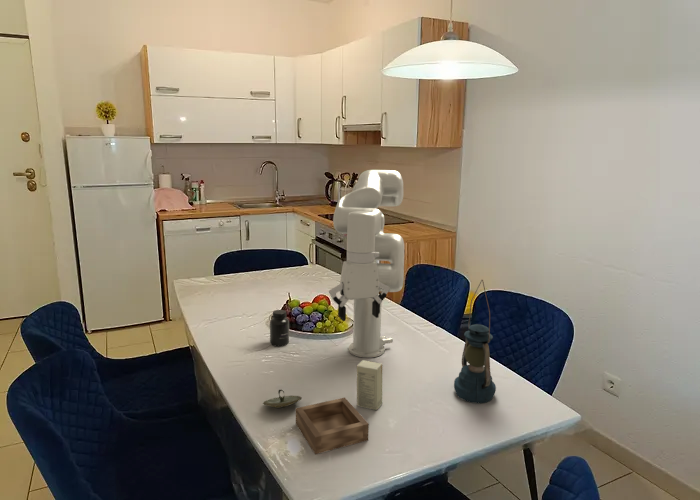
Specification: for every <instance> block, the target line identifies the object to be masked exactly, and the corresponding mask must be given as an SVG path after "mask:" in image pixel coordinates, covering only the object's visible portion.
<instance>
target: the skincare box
mask: <svg viewBox="0 0 700 500" xmlns="http://www.w3.org/2000/svg"><path fill="white" fill-rule="evenodd" d="M382 404H383V363H381V362H377V361H376V362H375V361H369V360H366V359H362V360H361V361H360V362H358V364H356V406H357V407H361V408H365V409H369V410H373V411H377V410H378V409H379V408H380V407H381V406H382Z"/></svg>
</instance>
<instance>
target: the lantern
mask: <svg viewBox="0 0 700 500" xmlns="http://www.w3.org/2000/svg"><path fill="white" fill-rule="evenodd" d="M481 284H482V285H483V290H484V294H485V299H486V303H487V308H488V309H487V310H488V312H489V313H488V317H489V319H488V323H489V324H488V327H487V326H486V325H483V324H479V323H476V324H471V325H468V330H467V331H465V332H464V334H463V336H464V337H465V341H464V347H463V350H462V351H463V352H462V357H461V369H460V371H459V373H458V376H457V377H456V378H455V379H454V382H453V387H454V392H455V394H456V397H458V398H459V399H461V400H462V401H464V402H468V403H473V404H485V403H489V402H491V401H492V399H493V398H494V396H495V394H496V391H497V387H496V384H495V382H494V381H493V377H492V375H491V374H492V373H491V362H490V360H491V358H490V347H489V343H490V342H491V341H492V340H493V338H494V337H493V335H492V333H490V332H491V330H490V329H491V310H490V306H489V301H488V297H487V292H486V288H485V287H486V286H485V284H484V279H481V280H480V282H479V284H478V286H477V288H476V289H475V292H474V294H473V296H472V298H471V301H470V307H469V317H468V324H470V323H471V322H470V321H471V312H472V303H473V301H474V297H475V295H476V294H477V292H478V289H479V288H480V286H481Z"/></svg>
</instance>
